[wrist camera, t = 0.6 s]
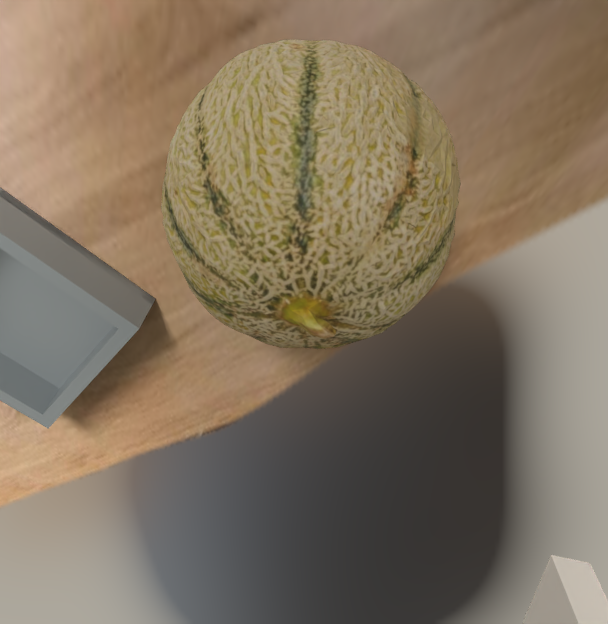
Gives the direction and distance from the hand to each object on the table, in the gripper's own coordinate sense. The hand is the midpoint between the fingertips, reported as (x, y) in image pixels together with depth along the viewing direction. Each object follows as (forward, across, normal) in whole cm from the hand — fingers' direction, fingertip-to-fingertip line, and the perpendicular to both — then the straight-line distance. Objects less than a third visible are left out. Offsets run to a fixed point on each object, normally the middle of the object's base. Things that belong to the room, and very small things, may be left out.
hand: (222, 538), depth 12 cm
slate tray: (+27, -20, -8) cm, 35 cm away
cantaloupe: (+26, -1, +5) cm, 27 cm away
